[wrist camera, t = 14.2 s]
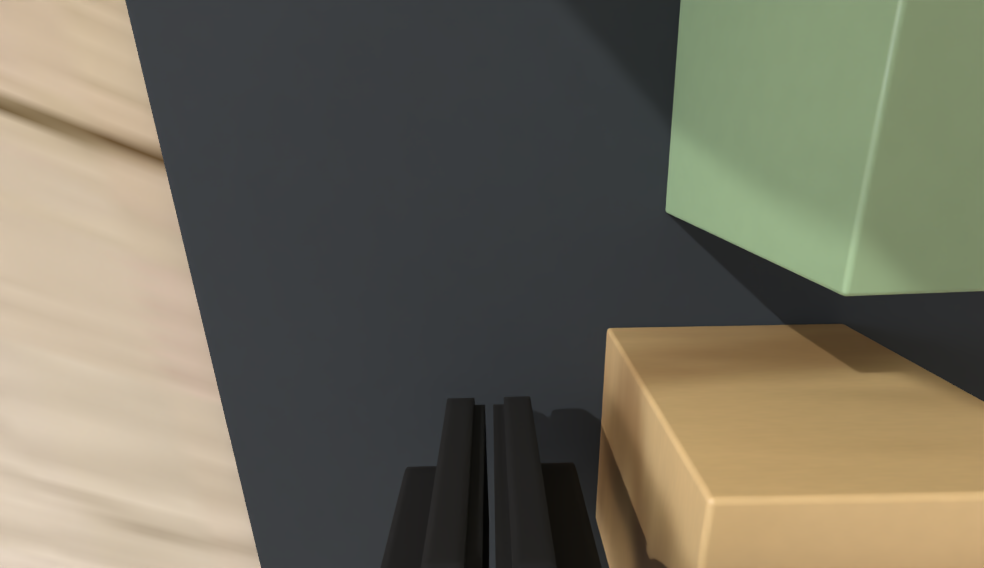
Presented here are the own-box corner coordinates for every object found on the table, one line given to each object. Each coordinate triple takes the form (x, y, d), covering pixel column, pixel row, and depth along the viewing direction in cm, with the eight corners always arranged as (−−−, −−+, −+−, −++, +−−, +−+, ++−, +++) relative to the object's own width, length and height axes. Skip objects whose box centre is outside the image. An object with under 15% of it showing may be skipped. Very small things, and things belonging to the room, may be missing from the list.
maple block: (605, 326, 10) (709, 500, 5) (843, 322, 10) (1156, 492, 5) (594, 517, 12) (666, 783, 7) (800, 513, 12) (1015, 777, 7)
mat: (95, -170, 8) (81, -182, 7) (1221, -219, 8) (1248, -231, 7) (342, 887, 17) (340, 900, 17) (856, 871, 17) (862, 884, 17)
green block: (686, -92, 8) (985, -425, 3) (992, -104, 8) (1760, -460, 3) (663, 212, 9) (843, 298, 5) (920, 202, 9) (1363, 278, 5)
